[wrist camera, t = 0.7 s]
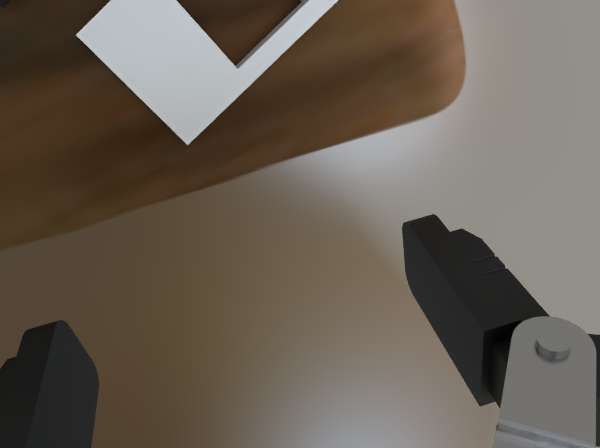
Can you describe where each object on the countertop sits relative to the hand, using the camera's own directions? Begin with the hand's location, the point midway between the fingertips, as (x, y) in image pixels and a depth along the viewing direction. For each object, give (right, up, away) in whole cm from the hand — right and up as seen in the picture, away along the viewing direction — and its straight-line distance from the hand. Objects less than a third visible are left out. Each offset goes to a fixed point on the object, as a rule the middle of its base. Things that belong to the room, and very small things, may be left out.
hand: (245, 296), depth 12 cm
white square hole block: (-3, +17, +22) cm, 28 cm away
